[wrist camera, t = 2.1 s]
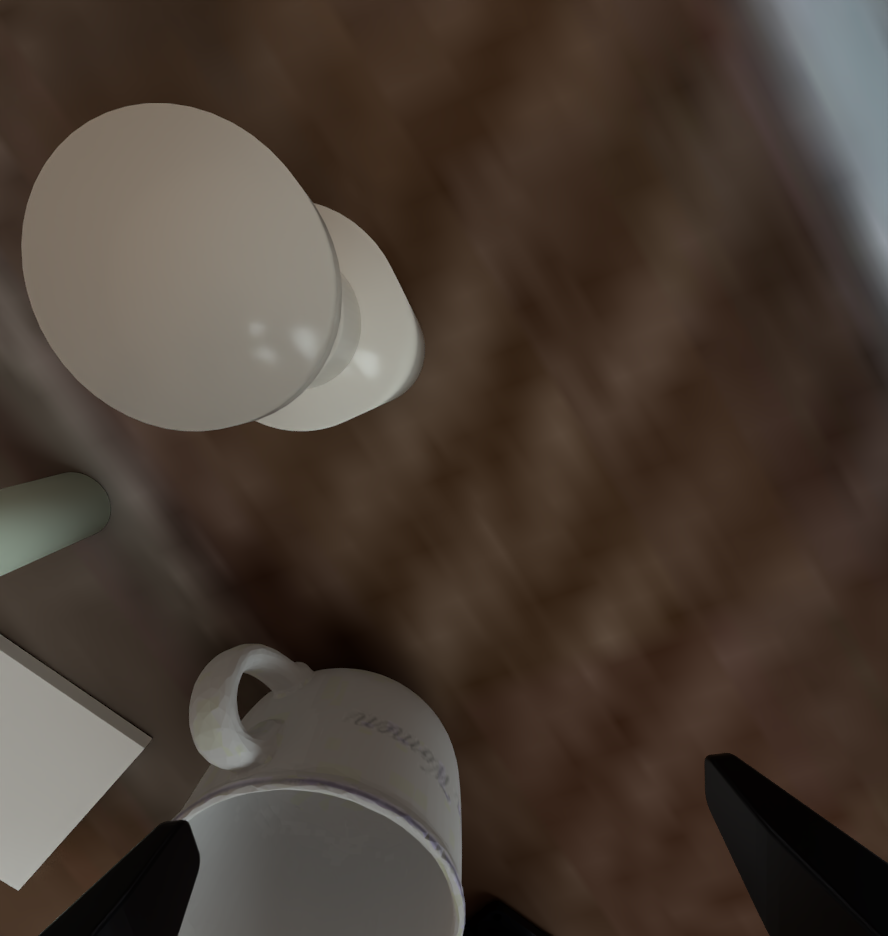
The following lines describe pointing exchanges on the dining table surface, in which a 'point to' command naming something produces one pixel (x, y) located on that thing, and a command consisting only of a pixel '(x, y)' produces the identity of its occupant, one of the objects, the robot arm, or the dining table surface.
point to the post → (48, 517)
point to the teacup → (321, 805)
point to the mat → (51, 759)
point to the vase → (209, 280)
